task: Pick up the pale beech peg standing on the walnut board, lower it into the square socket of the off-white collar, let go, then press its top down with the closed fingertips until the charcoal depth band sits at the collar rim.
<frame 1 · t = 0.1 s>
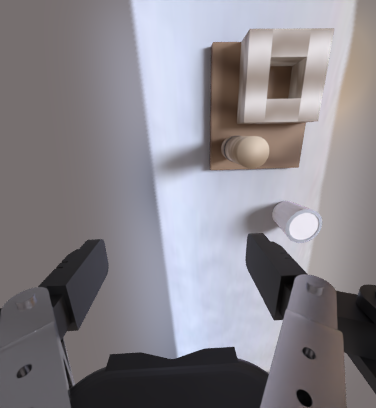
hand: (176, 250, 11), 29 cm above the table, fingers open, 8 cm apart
socket board: (256, 112, 36), on the table
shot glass: (284, 212, 43), on the table
peg: (230, 147, 36), point 1 cm above the table, touching socket board
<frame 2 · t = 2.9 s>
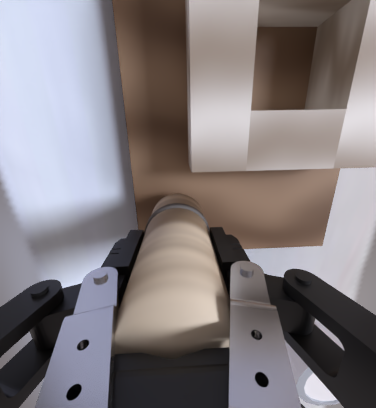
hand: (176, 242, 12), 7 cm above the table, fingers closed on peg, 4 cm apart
socket board: (235, 135, 16), on the table
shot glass: (291, 311, 23), on the table
peg: (177, 211, 17), point 1 cm above the table, touching gripper, socket board
when the fingers open (7 cm above the table, at t = 8.7 s): peg stays where it is, resting on socket board.
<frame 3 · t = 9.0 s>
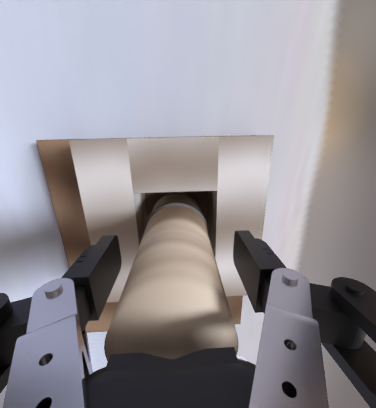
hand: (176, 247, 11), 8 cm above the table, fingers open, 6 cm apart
socket board: (159, 241, 20), on the table
peg: (177, 209, 17), point 2 cm above the table, touching socket board
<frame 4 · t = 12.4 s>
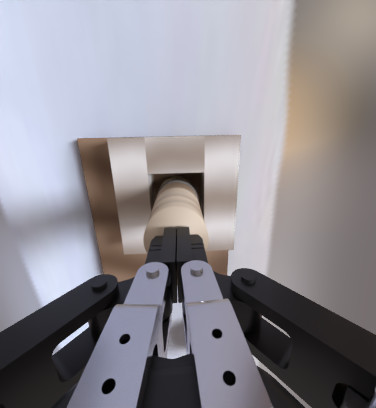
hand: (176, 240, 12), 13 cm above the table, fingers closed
socket board: (163, 216, 26), on the table
peg: (177, 189, 23), point 1 cm above the table, touching gripper, socket board
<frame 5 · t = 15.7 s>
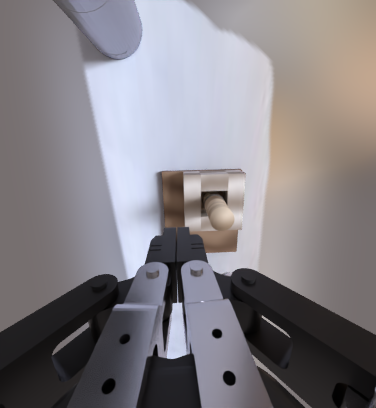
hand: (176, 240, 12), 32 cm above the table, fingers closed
socket board: (201, 212, 46), on the table
peg: (211, 198, 43), point 1 cm above the table, touching socket board
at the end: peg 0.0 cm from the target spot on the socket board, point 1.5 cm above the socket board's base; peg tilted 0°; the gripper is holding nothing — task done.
